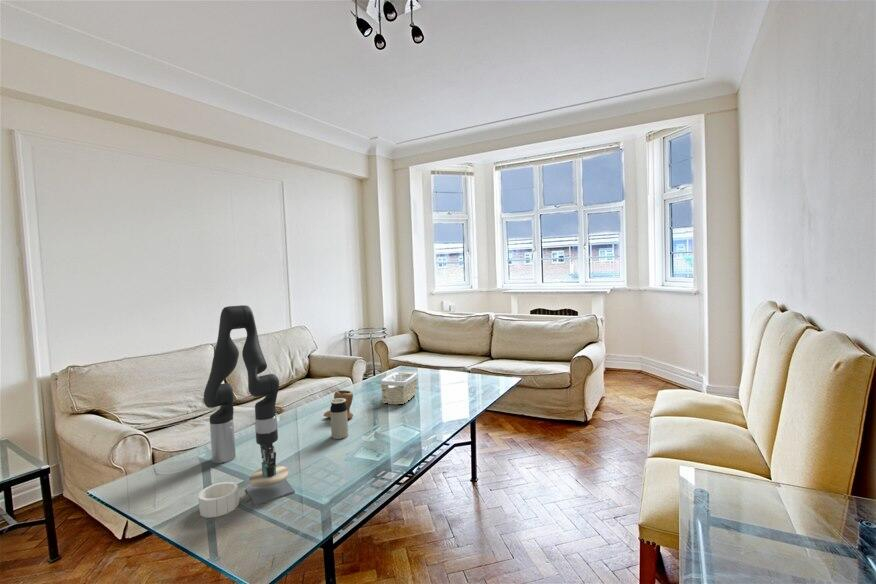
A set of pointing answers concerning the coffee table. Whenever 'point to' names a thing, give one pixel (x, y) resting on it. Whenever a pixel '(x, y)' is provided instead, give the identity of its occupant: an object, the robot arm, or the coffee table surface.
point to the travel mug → (339, 418)
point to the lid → (263, 480)
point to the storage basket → (399, 387)
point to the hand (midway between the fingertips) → (269, 473)
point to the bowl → (218, 499)
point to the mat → (269, 492)
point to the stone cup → (349, 397)
